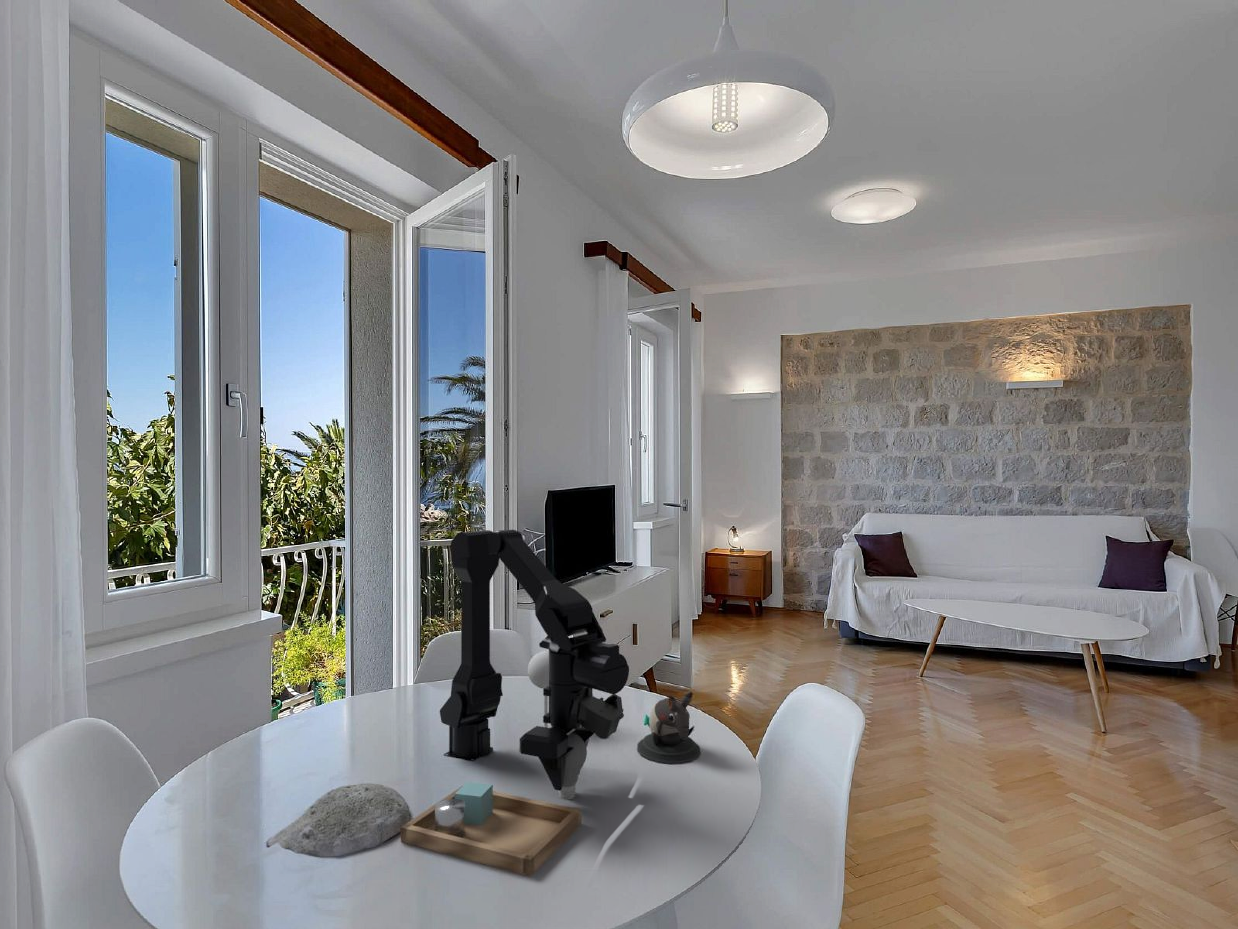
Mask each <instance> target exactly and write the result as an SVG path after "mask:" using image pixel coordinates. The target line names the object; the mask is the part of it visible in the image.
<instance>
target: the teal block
mask: <svg viewBox="0 0 1238 929" xmlns="http://www.w3.org/2000/svg"><path fill="white" fill-rule="evenodd" d="M493 786H494V784H492V783H485V782H475V781H474V782H473V781H466V782H465V783H464V784H463V785H461V786H460V787H461V788H460V787H459V788H460V789H459V788H458V789H459V790H458V791H457V792H456V793H455V799H460V800H462V801H464V802H465V824H473V825H482V824H483V822H484V821H485V820H486V819H487V818H488V817H489V816H490V815H491V813H492V812H493V791H494V790H493V788H494V787H493Z"/></svg>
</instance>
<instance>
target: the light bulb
mask: <svg viewBox="0 0 1238 929" xmlns="http://www.w3.org/2000/svg"><path fill="white" fill-rule="evenodd" d="M568 747H573V748H574V750H573V751H572V752H570V753H569V754H568V755H567V757H566V762H565V771H564V780H563V786H562V790H561V791H558V797H559V799H563V800H571V799H573V798H575V797H576V786H577V785H576V784H577V782H578V780H579V775H580V774H579V772H580V773H581V769H583V766H584V764H585V763H586V759H587V756H588V755H587V754H588V749H587V748H586V745H585V743H584V741H583V740H582V739H581V738H580V737H579V736H578V735H577V734H575V733H570V734H569V735H568ZM578 774H579V775H578Z"/></svg>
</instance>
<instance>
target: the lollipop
mask: <svg viewBox="0 0 1238 929" xmlns="http://www.w3.org/2000/svg"><path fill="white" fill-rule="evenodd" d="M527 676H528V679H529V681H530V682H531V683H532V684H533V685H534V686H535V687H537V688H539V689H542V690H543V689H544V688H546V687H547V686H549V650H543V651H539V652H538V653H536V654H535V655H534V656H532V658H531V659H530V660H529V663H528V666H527ZM543 699H544V700H543V701H544V702H543V703H544V704H543V705H544V706H543V707H544V710H543V711H544V712H543V716H544V715H545V714H547V713H549V696H544V695H543ZM543 724H544V725H543V727H547V728H548V724H549V723H543Z"/></svg>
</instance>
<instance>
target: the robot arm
mask: <svg viewBox="0 0 1238 929" xmlns="http://www.w3.org/2000/svg"><path fill="white" fill-rule="evenodd" d="M449 546H450V547H449V552H450V559H451V566H452V569H453V571H454V572H455V574H456V575H457V578H458V579H459V581H460V588H461V590H460V592H461V593H460V594H461V595H460V599H461V602H460V605H461V606H460V607H461V608H460V609H461V612H460V613H461V616H460V617H461V622H460V623H461V627H460V628H461V629H460V631H461V632H460V633H461V634H460V636H461V638H460V639H461V641H460V642H461V643H460V644H461V645H460V646H461V647H460V648H461V650H460V651H461V652H460V653H461V654H460V655H461V656H460V657H461V658H460V659H461V661H460V665H459V667H458V669H457V671H456V672H455V675H454V677H453V678H452V681H451V690H450V696H449V697H448V699H447V700H446V701H445V702H444V704H443V705H442V707H441V708H440V710H439V716H440V720H441V724H443V725H446V726H448V729H449V730H448V743H449V744H448V751H447V752H445V753H444V754H443V756H444V757H448V758H454V759H458V760H463V761H467V762H468V761H469V762H474V761H476V760H478V759H480V758H485V757H486V756H487V755H489V754H491V753H492V752H493V751H494V747H493V746H491V728H489V718H494V717H496V715H497V712H498V708H499V705H500V703H501V698H502V696H503V690H502V682H503V676H502V673H500V672H496V670H495V668H494V666H493V665H492V663H491V606H490V605H491V580H492V578H493V576H494V574H495V572H496V571H497V569H498V567H499V563H500V561H501V562H502V564H504V566H505V568H506V569H508V571H509V572H510V574H511V575H512V576H513V577H514V579H516V581H517V583H518V584H519V585H520V586H521V587H522V588H523V589H524V591H525V592H526V593H527V594H528V596H529V597H530V599H531V600H532V602H533V603H534V610H535V611H534V613H535V614H534V616H535V618H536V619H537V621H538V622H539V624H540V626H541V627H542V629H543V632H544V633H545V635H547V636H546V637H545V638H544V639H542V640H541V642H539V643H538V644H539V647H540V648H542V649H546V650H548V651H549V686H547V687H546V688H544V689H543V688H542V690H543V692H542V696H543V697H544V696H548V713H547V714H545V715H544V714H543V716H542V719H543V720H542V722H543V724H544V723H548V724H550V727H548V726H547V727H544V726H541V725H540V726H539V725H536V726H534V727H533V728H531V729H530V730H528V731H526V732H525V733H524V734H523V735H522V736H521V737H520V738H519V753H520V754H522V755H527V756H532V757H536V758H538V760H539V762H540V763H541V765H542V767H543V768H544V770H545V772H546V775H547V776H548V779H549V780H550V783H551V785H552V787H553V789H554V790H555V791H558V792H559V791H561V790H562V786H563V780H564V771H565V762H566V757H567V755H568V754H569V753H570V752H572V751H573V750H574V748H573V747H568V735H569V734H570V733H575V734H577V735H578V736H579V737H580V738H581V739H582V740H583V741H584V743H585V745H586V749H587V748H588V746H589V742H590V739H591V738H592V737H593V736H594V735H596V737H597V738H599V739H602V740H607V739H609V738H610V736H611V735H613V734H615V733H616V732H617V730H618V727H619V723H620V721H621V720H622V719H624V717H625V714H624V708H623V703H622V702H623V701H622V697H621V696H620V695H618V693H619V692H621V691H622V690H623V689H624V687H625V686H626V684H627V682H628V679H629V675H630V674H629V673H630V667H629V664H628V660H627V659H626V657H625V656H624V655H623V654H621V653H620V646H619V644H615V643H605V642H607V638H606V636H605V634H604V632H603V629H602V627H601V625H600V624H599V621H598V619H597V617H596V615H595V613H594V610H593V606H592V605H591V603H590V602H589V600H588V599H587V598H586V597H585V596H584V595H583V594H581V593H580V592H579V591H578V590H576V589H574V588H573V587H571V586H568V585H566V584H564V583H562V582H561V581H559V580H558V579H557V578H556V577H555V576H554V575H553V573H552V572H551V571H550V570H549V568H548V567H547V566H546V565H545V563H544V562H542V561H541V559H540V558H539V557H538V556H537V555H536V553H535V552H534V551H533V550H532V549H531V548H530V546H529V545H528V544H527V543H526V542H525V540H524V538H523V535H522V533H521V532H520V531H518V530H516V529H499V530H495V531H492V530H490V529H489V530H474V531H473V530H472V531H461V532H457V533H456V534H455V535H454V537H453V538H452V539H451V540H450V545H449ZM584 633H585V634H584ZM580 634H581V635H580ZM576 635H577V636H576ZM571 636H572V637H571ZM593 690H597V691H600V692H603V693H606V694H610V695H609V696H608V697H607V698H606V699H605V700H604V698H603V697H600V698H598V697H595V696H594V695H593ZM580 773H581V771H580V772H579V774H578V776H580Z"/></svg>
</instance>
